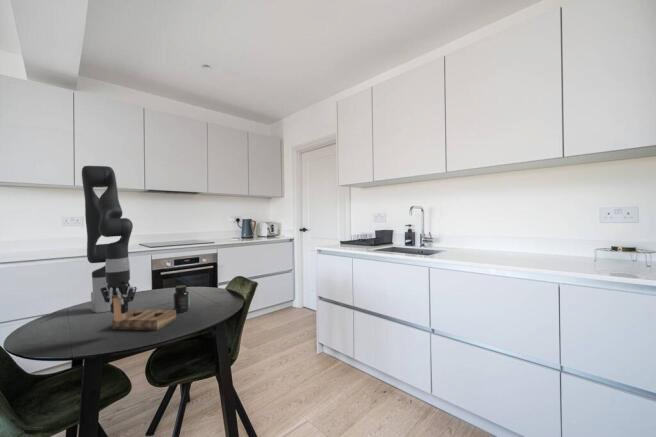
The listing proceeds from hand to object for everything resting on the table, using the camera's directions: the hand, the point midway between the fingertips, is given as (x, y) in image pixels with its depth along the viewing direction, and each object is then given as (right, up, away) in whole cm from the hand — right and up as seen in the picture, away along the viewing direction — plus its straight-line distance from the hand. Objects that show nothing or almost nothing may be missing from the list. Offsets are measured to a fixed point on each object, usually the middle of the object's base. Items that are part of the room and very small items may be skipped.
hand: (119, 312), depth 109 cm
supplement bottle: (+10, -8, +27) cm, 30 cm away
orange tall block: (0, -3, 0) cm, 3 cm away
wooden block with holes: (+2, -9, +12) cm, 15 cm away
